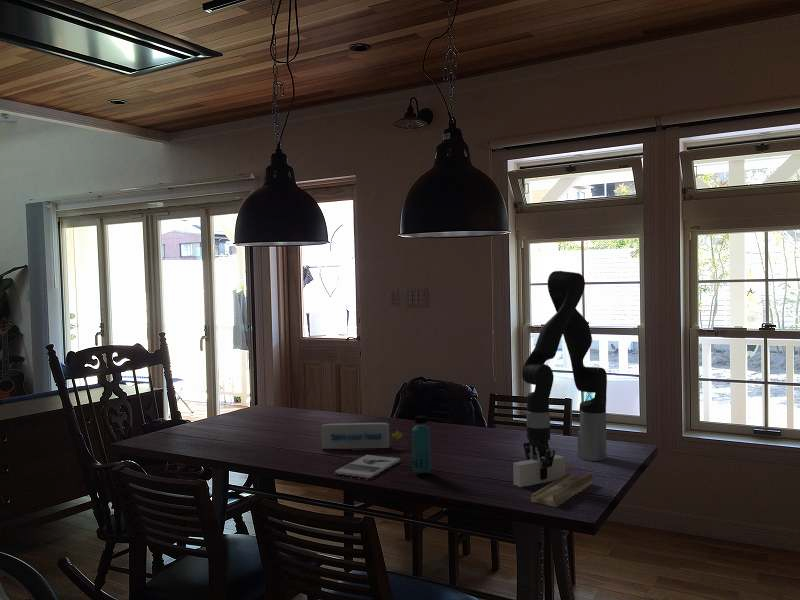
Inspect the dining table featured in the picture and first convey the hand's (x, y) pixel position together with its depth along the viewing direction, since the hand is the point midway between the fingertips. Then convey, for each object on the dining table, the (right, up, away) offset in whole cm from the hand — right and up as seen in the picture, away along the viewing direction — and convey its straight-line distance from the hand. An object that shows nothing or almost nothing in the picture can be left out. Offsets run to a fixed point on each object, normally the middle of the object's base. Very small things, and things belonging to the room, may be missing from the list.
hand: (539, 477), depth 209 cm
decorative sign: (-60, -2, +47) cm, 77 cm away
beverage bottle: (-38, -2, +11) cm, 39 cm away
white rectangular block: (0, -1, 0) cm, 1 cm away
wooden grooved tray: (+5, -2, -11) cm, 12 cm away
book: (-56, -3, +19) cm, 60 cm away
